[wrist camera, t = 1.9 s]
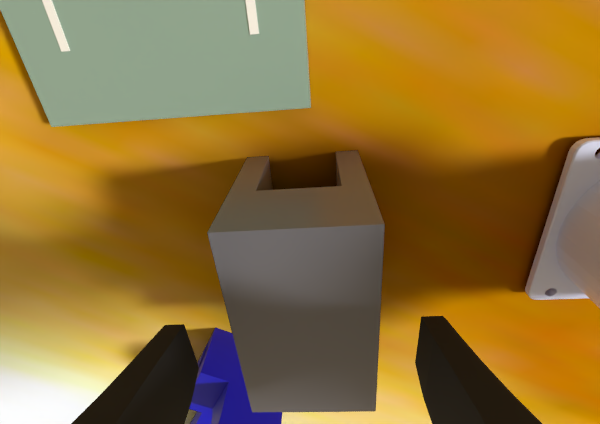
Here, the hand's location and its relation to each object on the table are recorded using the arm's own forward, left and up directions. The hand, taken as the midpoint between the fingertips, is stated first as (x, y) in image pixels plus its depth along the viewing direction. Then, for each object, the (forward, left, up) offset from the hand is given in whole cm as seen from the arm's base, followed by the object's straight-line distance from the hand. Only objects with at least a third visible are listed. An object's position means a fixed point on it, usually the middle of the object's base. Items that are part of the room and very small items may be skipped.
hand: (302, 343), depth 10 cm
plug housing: (0, 0, -6) cm, 6 cm away
